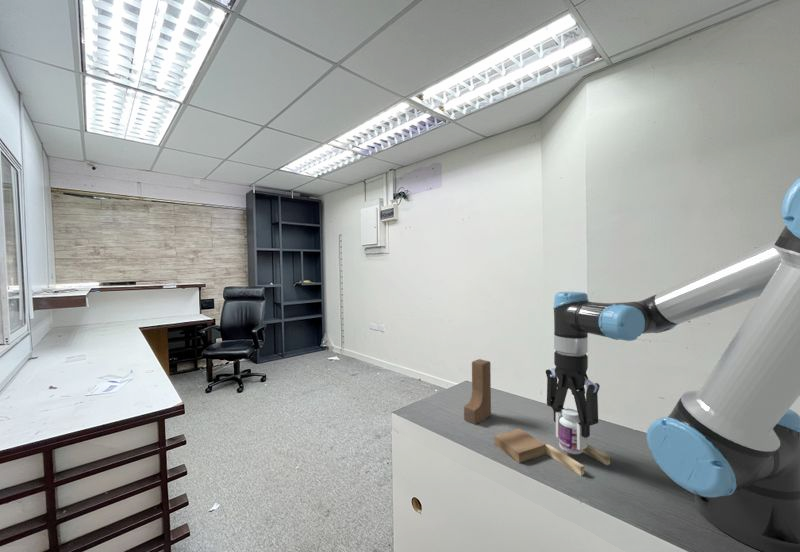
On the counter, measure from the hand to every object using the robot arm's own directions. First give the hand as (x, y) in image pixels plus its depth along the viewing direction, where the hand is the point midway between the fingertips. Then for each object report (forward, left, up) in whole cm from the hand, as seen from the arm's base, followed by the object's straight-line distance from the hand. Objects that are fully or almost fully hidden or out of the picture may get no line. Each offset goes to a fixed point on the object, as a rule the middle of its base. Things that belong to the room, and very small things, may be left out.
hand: (570, 441), depth 79 cm
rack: (-2, 0, -3) cm, 4 cm away
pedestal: (+7, +10, -3) cm, 13 cm away
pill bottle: (0, 0, -2) cm, 2 cm away
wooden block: (+26, +9, -4) cm, 28 cm away
